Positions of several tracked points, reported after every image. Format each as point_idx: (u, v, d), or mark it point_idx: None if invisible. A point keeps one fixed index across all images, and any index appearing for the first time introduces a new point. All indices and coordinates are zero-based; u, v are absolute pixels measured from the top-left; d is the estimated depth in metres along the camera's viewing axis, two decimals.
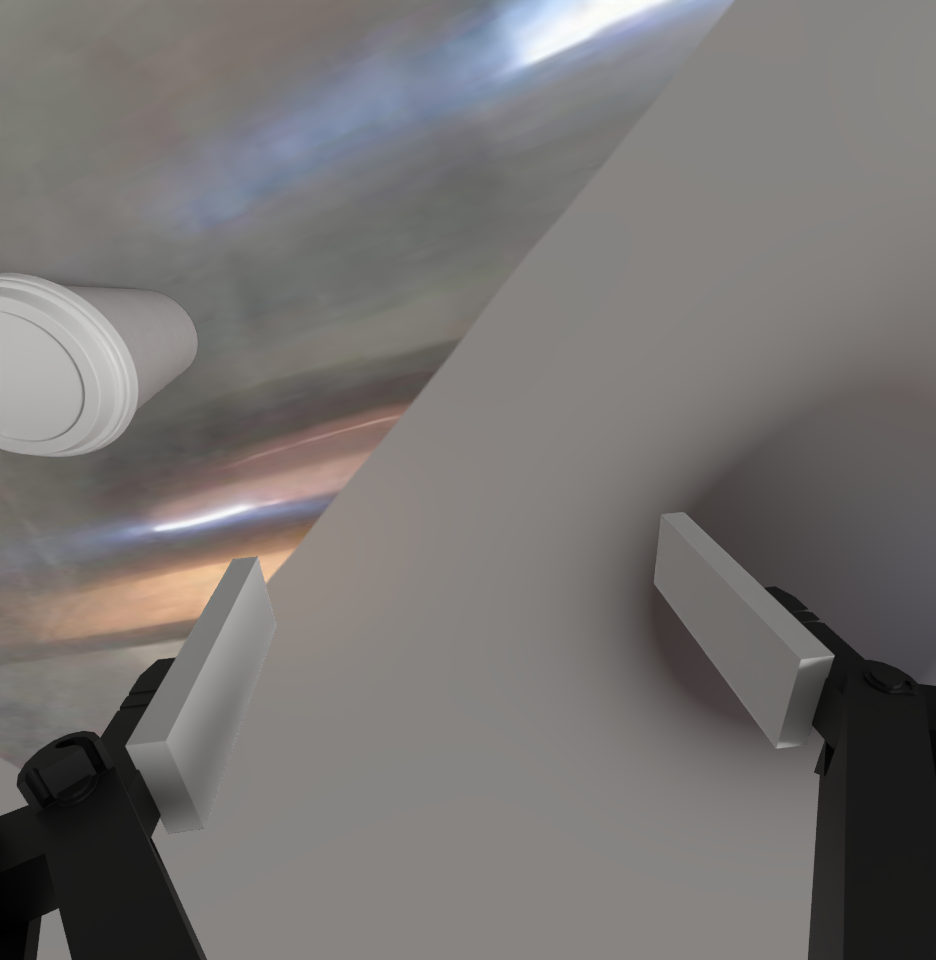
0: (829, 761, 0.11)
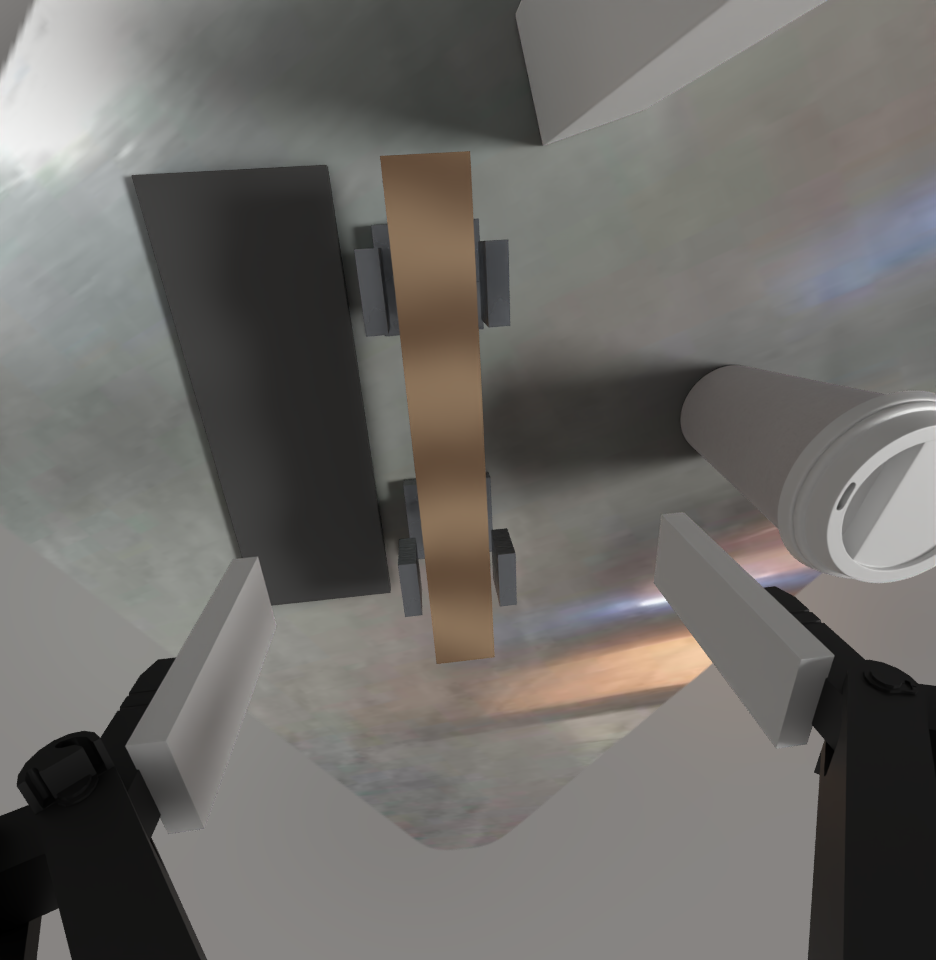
0: (829, 761, 0.11)
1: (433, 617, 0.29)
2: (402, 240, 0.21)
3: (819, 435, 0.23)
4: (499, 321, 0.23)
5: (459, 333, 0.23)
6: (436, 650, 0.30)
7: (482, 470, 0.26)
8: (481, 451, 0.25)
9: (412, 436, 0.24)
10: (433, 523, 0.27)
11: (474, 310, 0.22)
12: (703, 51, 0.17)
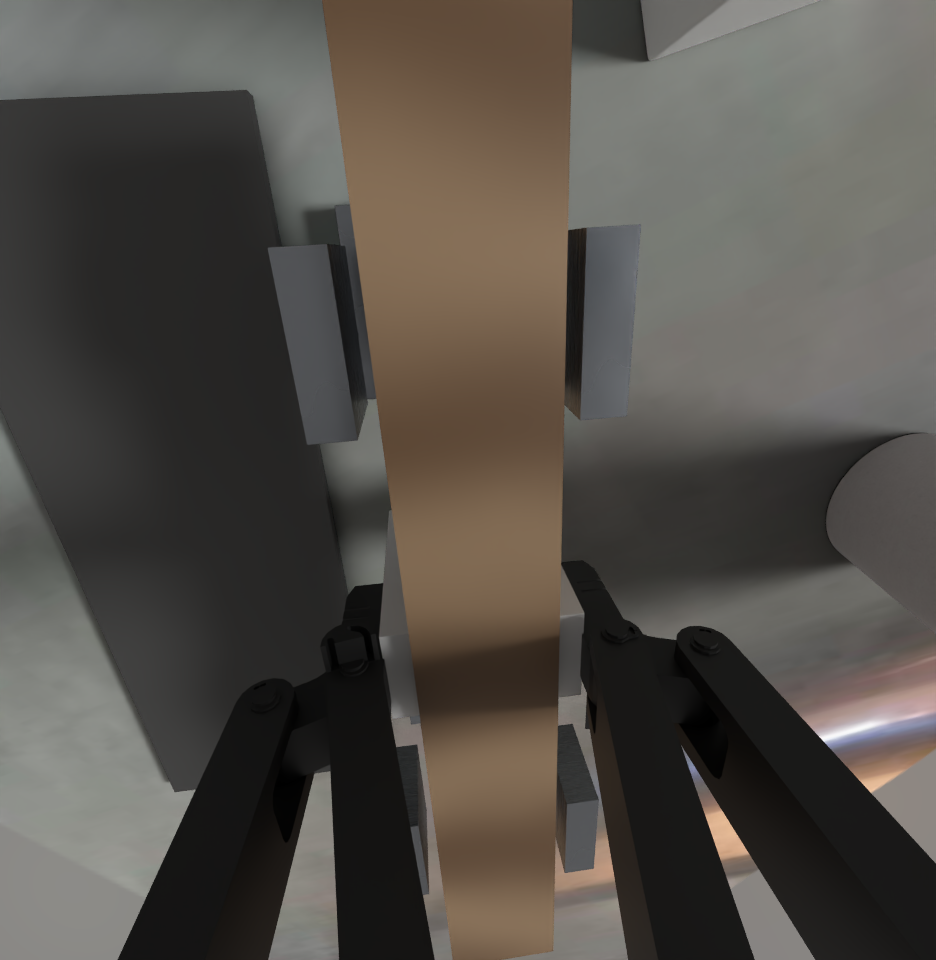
0: (594, 717, 0.12)
1: (449, 910, 0.16)
2: (385, 223, 0.08)
3: None
4: (604, 407, 0.11)
5: (519, 441, 0.10)
6: (453, 951, 0.17)
7: (552, 692, 0.13)
8: (553, 661, 0.12)
9: (412, 641, 0.12)
10: (453, 780, 0.14)
11: (557, 390, 0.10)
12: None
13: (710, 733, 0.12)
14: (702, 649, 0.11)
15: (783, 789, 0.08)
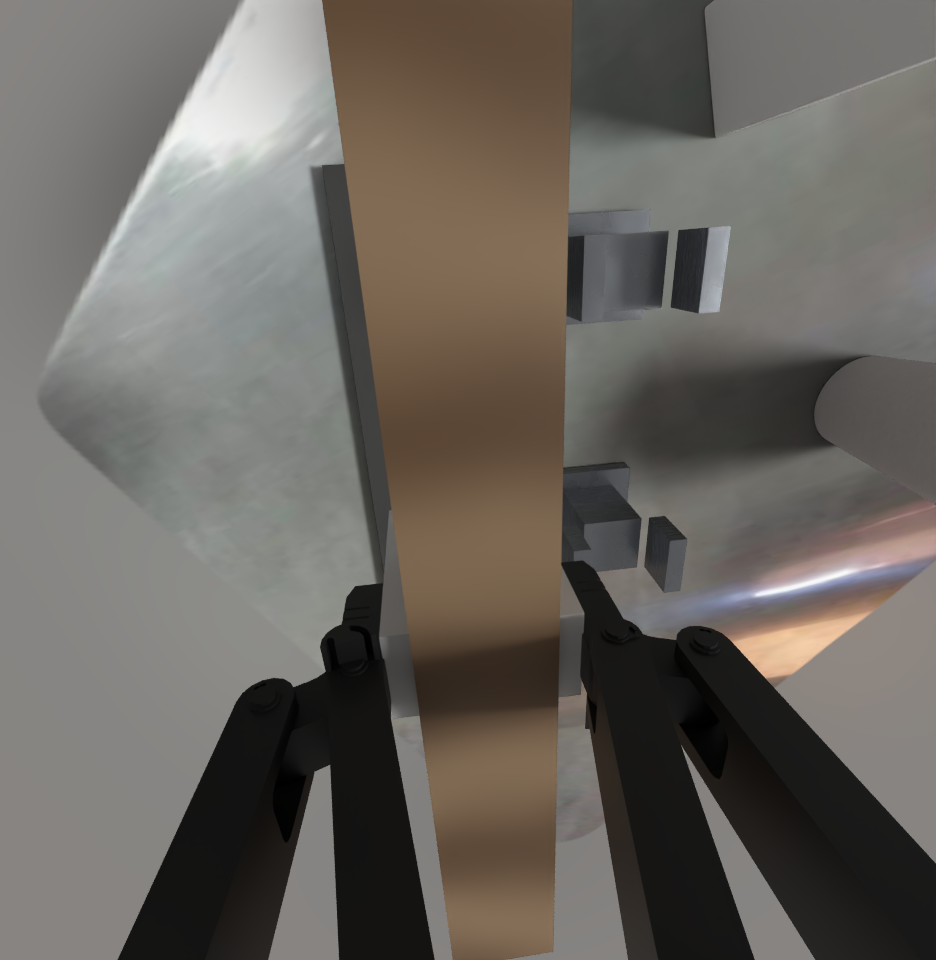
0: (594, 717, 0.12)
1: (449, 911, 0.16)
2: (386, 226, 0.08)
3: None
4: (709, 307, 0.24)
5: (519, 443, 0.10)
6: (454, 951, 0.17)
7: (552, 693, 0.13)
8: (553, 662, 0.12)
9: (412, 642, 0.12)
10: (453, 781, 0.14)
11: (557, 392, 0.10)
12: None
13: (710, 733, 0.12)
14: (701, 649, 0.11)
15: (783, 789, 0.08)
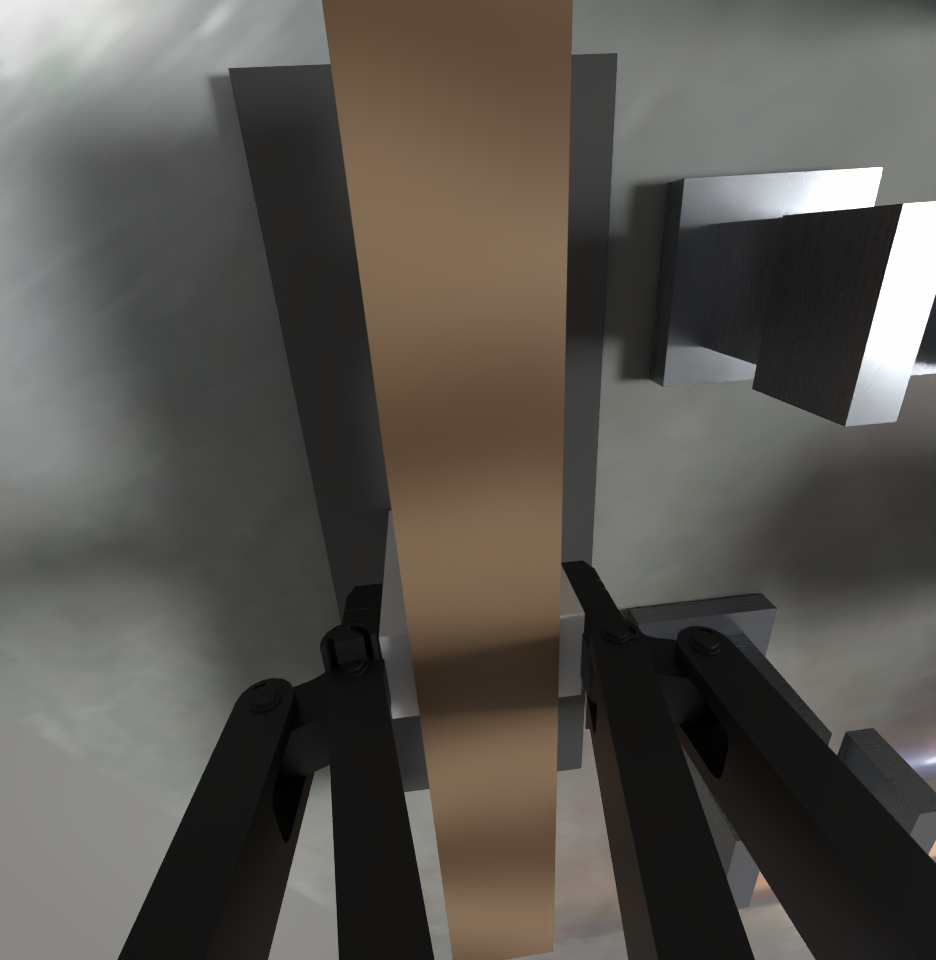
0: (594, 717, 0.12)
1: (449, 911, 0.16)
2: (386, 226, 0.08)
3: None
4: None
5: (519, 444, 0.10)
6: (453, 951, 0.17)
7: (552, 693, 0.13)
8: (552, 662, 0.12)
9: (412, 642, 0.12)
10: (453, 781, 0.14)
11: (556, 392, 0.10)
12: None
13: (710, 733, 0.12)
14: (702, 649, 0.11)
15: (784, 789, 0.08)
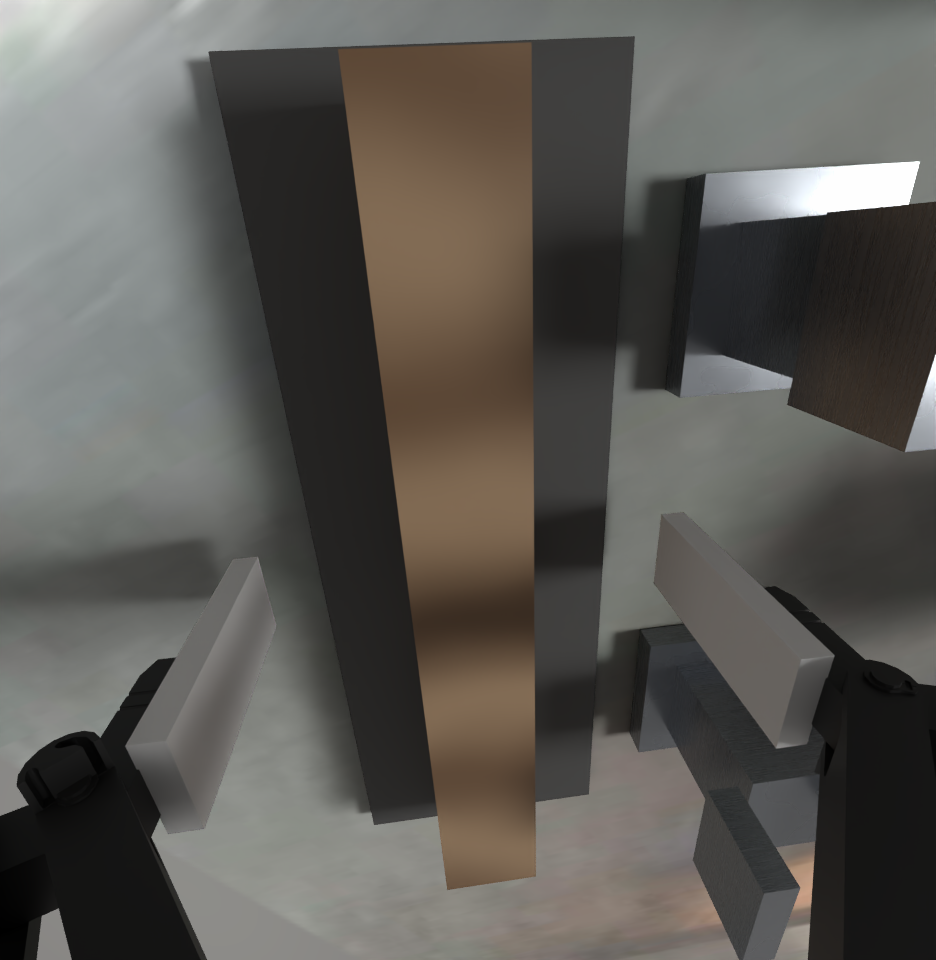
0: (829, 761, 0.11)
1: (443, 833, 0.18)
2: (388, 233, 0.10)
3: None
4: None
5: (497, 410, 0.12)
6: (447, 873, 0.19)
7: (529, 629, 0.15)
8: (529, 601, 0.14)
9: (409, 582, 0.14)
10: (445, 709, 0.16)
11: (527, 367, 0.12)
12: None
13: None
14: None
15: None
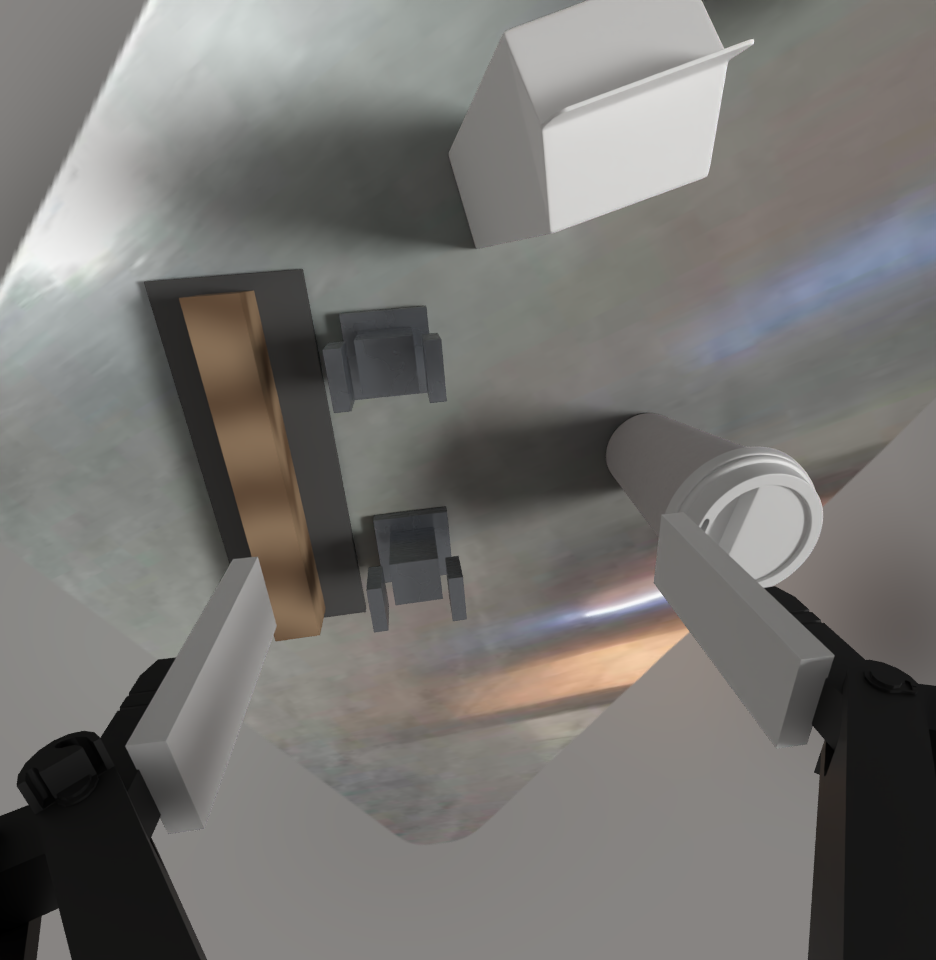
0: (829, 761, 0.11)
1: None
2: (201, 348, 0.32)
3: (685, 482, 0.29)
4: (438, 398, 0.30)
5: (251, 405, 0.33)
6: None
7: (285, 497, 0.36)
8: (281, 483, 0.36)
9: (229, 474, 0.35)
10: (255, 535, 0.37)
11: (259, 390, 0.33)
12: None
13: None
14: None
15: None
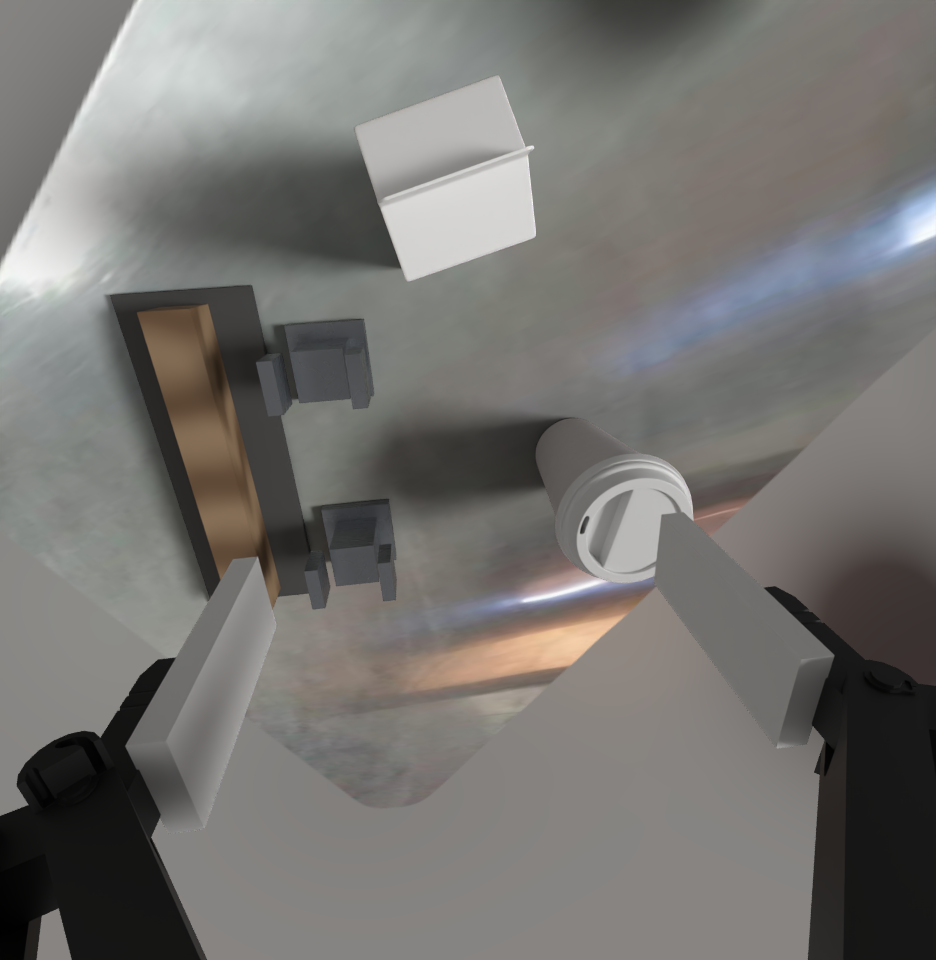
0: (829, 761, 0.11)
1: None
2: (158, 355, 0.36)
3: (573, 483, 0.34)
4: (360, 405, 0.34)
5: (203, 406, 0.38)
6: None
7: (236, 487, 0.41)
8: (232, 475, 0.40)
9: (186, 467, 0.40)
10: (210, 521, 0.42)
11: (210, 393, 0.37)
12: None
13: None
14: None
15: None
